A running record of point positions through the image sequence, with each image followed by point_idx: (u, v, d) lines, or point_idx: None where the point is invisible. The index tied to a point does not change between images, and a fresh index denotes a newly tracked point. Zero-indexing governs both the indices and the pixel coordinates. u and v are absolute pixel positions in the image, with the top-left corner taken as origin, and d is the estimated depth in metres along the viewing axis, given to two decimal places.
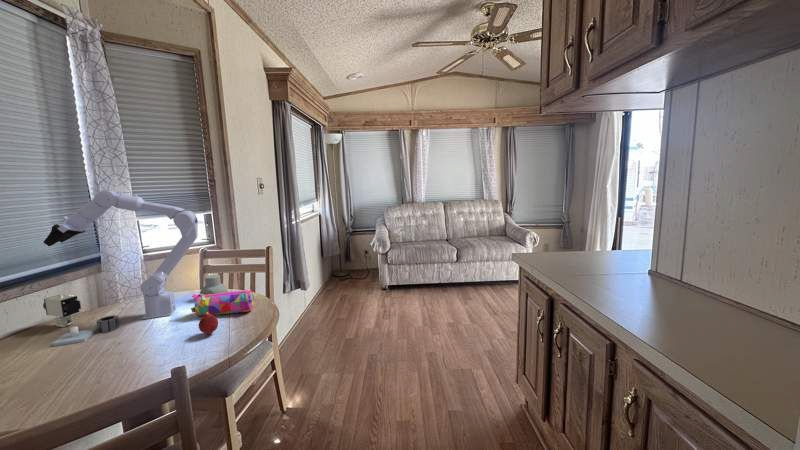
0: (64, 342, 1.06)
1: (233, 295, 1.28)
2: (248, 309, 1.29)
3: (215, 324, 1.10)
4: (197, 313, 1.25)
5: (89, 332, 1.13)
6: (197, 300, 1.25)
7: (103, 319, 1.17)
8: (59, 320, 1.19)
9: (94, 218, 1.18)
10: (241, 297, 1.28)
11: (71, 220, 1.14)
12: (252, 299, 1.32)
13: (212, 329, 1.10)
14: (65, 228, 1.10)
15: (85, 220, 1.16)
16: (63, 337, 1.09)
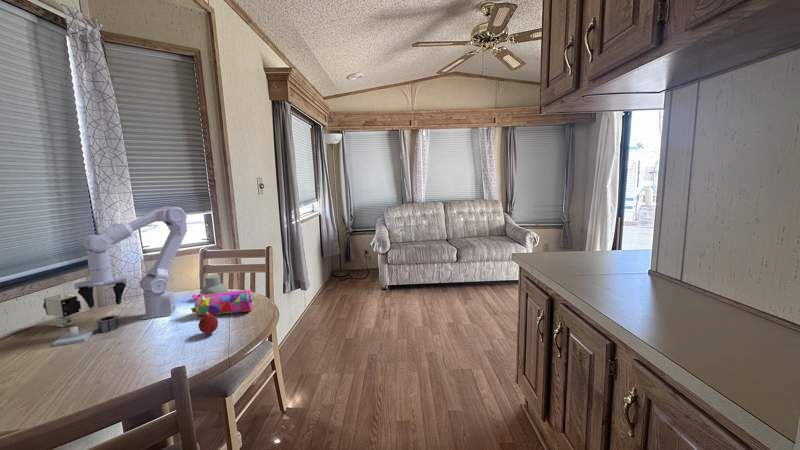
0: (64, 342, 1.06)
1: (234, 294, 1.29)
2: (248, 309, 1.29)
3: (215, 324, 1.10)
4: (197, 313, 1.25)
5: (89, 332, 1.13)
6: (197, 300, 1.25)
7: (103, 319, 1.17)
8: (59, 320, 1.19)
9: (110, 263, 1.16)
10: (241, 297, 1.28)
11: (109, 277, 1.15)
12: (252, 299, 1.32)
13: (212, 329, 1.10)
14: (128, 278, 1.18)
15: None
16: (63, 337, 1.09)
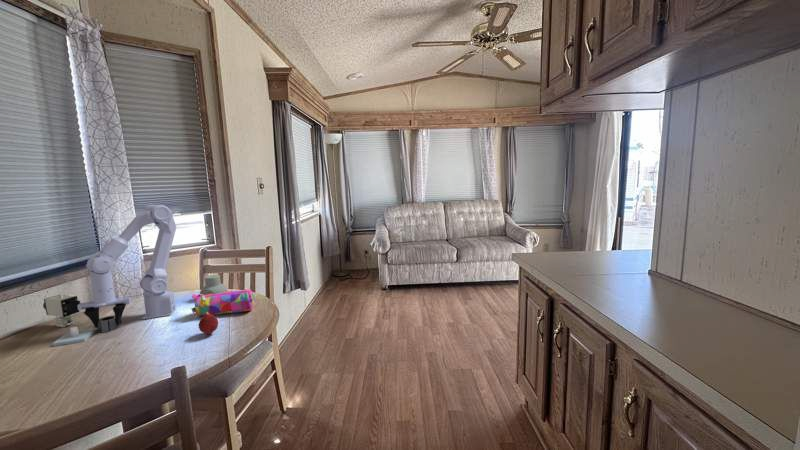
0: (64, 342, 1.06)
1: (234, 294, 1.29)
2: (249, 308, 1.30)
3: (215, 324, 1.10)
4: (197, 313, 1.25)
5: (89, 332, 1.13)
6: (197, 300, 1.25)
7: (103, 319, 1.17)
8: (59, 320, 1.19)
9: None
10: (242, 296, 1.29)
11: (112, 298, 1.16)
12: (252, 298, 1.33)
13: (212, 329, 1.10)
14: (130, 298, 1.19)
15: None
16: (63, 337, 1.09)
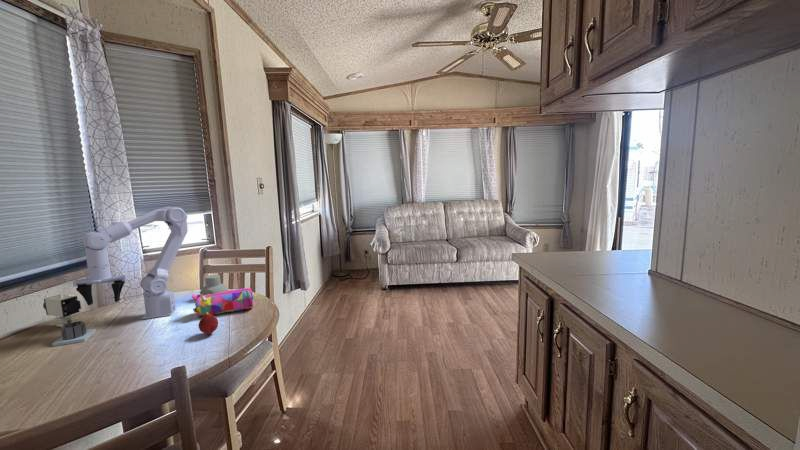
0: (64, 342, 1.06)
1: (235, 293, 1.31)
2: (251, 306, 1.32)
3: (215, 324, 1.10)
4: (199, 313, 1.25)
5: (89, 332, 1.13)
6: (198, 300, 1.25)
7: (68, 325, 1.10)
8: (59, 320, 1.19)
9: (108, 261, 1.16)
10: (244, 294, 1.31)
11: (107, 275, 1.15)
12: (253, 296, 1.35)
13: (212, 329, 1.10)
14: (126, 275, 1.18)
15: None
16: None
